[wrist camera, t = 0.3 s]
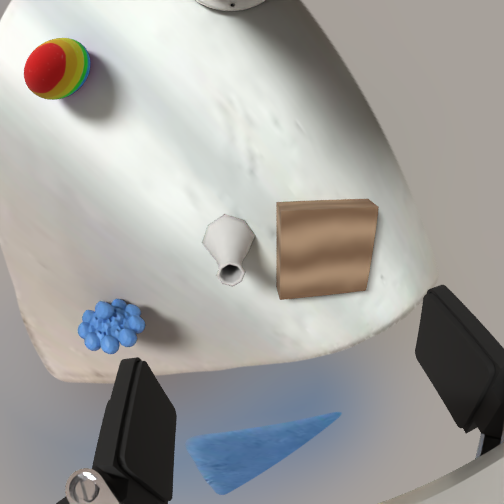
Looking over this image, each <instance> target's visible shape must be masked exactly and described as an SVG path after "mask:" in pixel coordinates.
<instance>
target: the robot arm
mask: <svg viewBox="0 0 504 504" xmlns="http://www.w3.org/2000/svg"><path fill="white" fill-rule="evenodd" d="M196 1H197V2H199V3H200V4H202V5H204V6H206V7H209V8H212V9H215V10H222V11H239V10H245V9H248V8H252V7H254V6H257V5H259V4H261V3H262V2H264V1H265V0H196ZM232 4H233V5H234V7H231V6H230V5H232ZM415 354H416V358H417V360H418V362H419V363H420V365H421V366H422V368H423V369H424V371H425V373H426V374H427V376H428V377H429V379H430V381H431V382H432V384H433V386H434V387H435V389H436V390H437V392H438V394H439V395H440V397H441V399H442V400H443V402H444V404H445V405H446V407H447V409H448V410H449V412H450V414H451V415H452V417H453V419H454V421H455V422H456V424H457V426H458V427H459V428H463V429H464V431H465V433H468V432H470V431H472V430H473V429H475V428H477V427H478V428H479V430H480V432H481V436H480V441H479V445H478V450H477V454H476V458H475V460H473V461H471V462H470V463H468V464H466V465H464V466H462V467H460V468H458V469H456V470H455V471H453V472H451V473H449V474H447V475H445V476H443V477H441V478H439V479H437V480H435V481H432V482H430V483H428V484H426V485H424V486H421V487H419V488H417V489H415V490H412V491H410V492H407V493H405V494H403V495H400V496H397V497H395V498H392V499H390V500H387V501H384V502H381V503H378V504H504V348H503V347H502V346H501V345H500V344H499V343H498V342H497V340H496V339H495V338H494V337H493V336H492V335H491V334H490V332H489V331H488V330H487V329H486V328H485V327H484V326H483V325H482V324H481V323H480V321H479V320H478V319H477V318H476V317H475V316H474V315H473V314H472V313H471V312H470V311H469V310H468V309H467V307H465V305H463V303H462V302H461V301H460V300H459V299H458V298H457V297H456V296H455V295H454V294H453V293H452V292H451V291H450V290H449V289H448V288H447V287H446V286H445V285H440V286H438V287H434V288H431V289H429V290H428V291H427V295H425V296H424V298H423V306H422V313H421V320H420V326H419V332H418V338H417V344H416V349H415ZM175 432H176V411H175V408H174V406H173V405H172V403H171V402H170V400H169V399H168V397H167V395H166V394H165V392H164V391H163V389H162V387H161V386H160V384H159V383H158V381H157V379H156V378H155V376H154V374H153V372H152V371H151V369H150V367H149V366H148V364H147V362H146V361H142V360H141V359H140V358H130V359H123V360H122V361H121V363H120V366H119V369H118V373H117V376H116V380H115V384H114V387H113V391H112V395H111V399H110V400H109V401H108V403H107V406H106V410H105V414H104V418H103V422H102V426H101V430H100V435H99V439H98V443H97V448H96V452H95V457H94V461H93V466H92V469H88V468H84V469H80V470H78V471H75V472H74V473H73V474H72V475H71V476H70V477H69V479H68V480H67V483H66V486H65V493H66V497H65V498H63V499H62V500H60V501H59V502H58V503H56V504H168V501H170V500H171V499H172V492H173V467H174V448H175Z"/></svg>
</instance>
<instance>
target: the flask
mask: <svg viewBox="0 0 504 504" xmlns="http://www.w3.org/2000/svg"><path fill="white" fill-rule="evenodd" d="M254 237H255V235H254V233H253V232H252V231H251V229H250V228H249V226H248V225H247V224H246V222H245V221H244V220H242V219H239V218H235V217H232V216H229V215H226V214H224V215H223V216H221V217H220V218H218V219H217V220H215V221H213V222H212V223H210V224H209V225H208V226H207V229H206V232H205V235H204V238H203V241H202V244H203V245H204V246H205V247H206V249H207V250H208V251H209V252H210V254H211V255H212V256H213V257H214V259H215V260H216V261H217V264H218V266H219V270H218V273H217V275H216V276H217V278H218V279H219V280H220V281H221V282H222V284H225V285H229V286H235V285H236V284H238V283H240V282H241V281H242V279H243V277H244V275H245V270H244V269H243V268H242V261H243V259H244V258H245V256H246V255H247V253H248V251H249V249H250V247H251V244H252V242H253V239H254Z"/></svg>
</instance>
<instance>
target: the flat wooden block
mask: <svg viewBox="0 0 504 504" xmlns="http://www.w3.org/2000/svg"><path fill="white" fill-rule="evenodd" d="M377 216H378V206H376V205H375V204H374V203H373V202H372V201H370V200H369V199H345V200H316V201H293V202H277V274H276V287H277V291H278V294H279V298H280V300H283V299H293V298H303V297H313V296H322V295H331V294H340V293H349V292H357V291H365V290H366V288H367V282H368V277H369V271H370V265H371V259H372V252H373V246H374V239H375V231H376V224H377Z"/></svg>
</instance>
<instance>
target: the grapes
mask: <svg viewBox="0 0 504 504" xmlns="http://www.w3.org/2000/svg"><path fill="white" fill-rule="evenodd" d="M140 315H141V311H140V309H139V308H138V307H137V306H136V305H133V304H128V305H127V304H126V303H125V302H124V301H123V300H121V299H115V300H114V301H113V302H112V304H111V305H110V304H109V303H107V302H103V301H99V302H98V303H97V304H96V307H95V312H94V311H92V310H86V311H85V312H84V314H83V316H82V320H83V322H82V323H81V324H80V325H79V327H78V334H79V336H80V337H81V338H83V339H85V340H84V342H85V345H86V347H87V348H88V349H90V350H92V351H96V350H99V349H100V348H102V350H103V351H104V352H105V353H108V354H114V353H116V352H117V351H118V349H119V346H120V345H119V342H120V343H121V345H123V346H125V347H131V346H133V345H134V344H135V343H136V341H137V336H136V334H139V333H141V332H142V331H143V330H144V328H145V321H144V320H143V319H142V318H141V317H140Z"/></svg>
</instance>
